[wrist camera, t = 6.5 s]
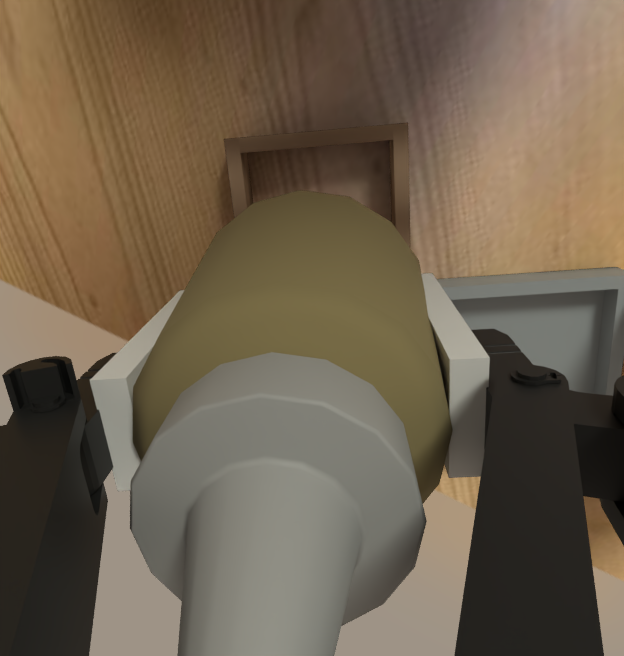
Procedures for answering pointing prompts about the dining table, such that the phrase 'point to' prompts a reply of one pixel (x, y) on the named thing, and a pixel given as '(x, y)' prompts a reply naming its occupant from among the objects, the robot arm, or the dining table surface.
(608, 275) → the tray
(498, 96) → the dining table surface
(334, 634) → the squeeze bottle
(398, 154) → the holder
